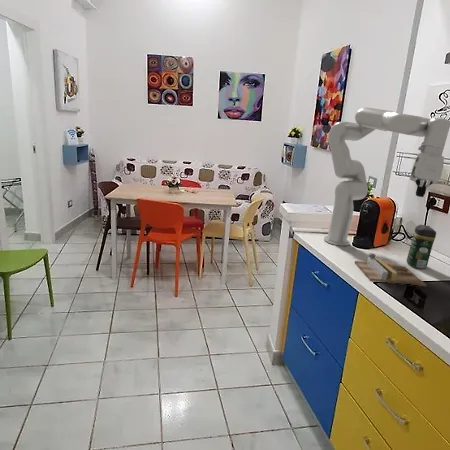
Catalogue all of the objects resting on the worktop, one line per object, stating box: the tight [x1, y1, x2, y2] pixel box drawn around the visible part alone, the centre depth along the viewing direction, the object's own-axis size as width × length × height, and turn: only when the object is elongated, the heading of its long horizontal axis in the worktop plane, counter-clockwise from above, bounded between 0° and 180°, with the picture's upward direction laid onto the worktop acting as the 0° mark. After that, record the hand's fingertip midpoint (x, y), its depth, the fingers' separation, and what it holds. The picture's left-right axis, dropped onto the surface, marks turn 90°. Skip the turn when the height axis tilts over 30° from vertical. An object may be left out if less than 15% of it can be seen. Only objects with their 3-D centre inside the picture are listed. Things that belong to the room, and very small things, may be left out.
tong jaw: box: [374, 257, 397, 281], centre depth 142 cm, size 15×2×4 cm, turn 3°
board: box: [354, 260, 427, 288], centre depth 144 cm, size 18×22×2 cm
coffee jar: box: [406, 224, 437, 270], centre depth 156 cm, size 10×8×19 cm
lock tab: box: [382, 260, 394, 268], centre depth 145 cm, size 3×3×4 cm
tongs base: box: [366, 252, 388, 281], centre depth 143 cm, size 18×3×4 cm, turn 179°
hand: (419, 196), depth 144 cm, fingers closed
